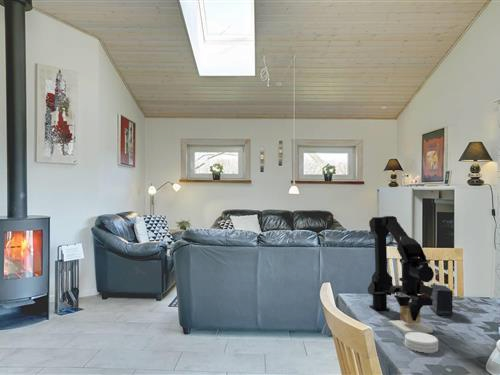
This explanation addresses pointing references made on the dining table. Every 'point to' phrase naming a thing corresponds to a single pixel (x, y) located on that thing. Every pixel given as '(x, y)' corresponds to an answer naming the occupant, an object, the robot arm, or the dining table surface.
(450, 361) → the dining table surface
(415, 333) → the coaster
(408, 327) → the white board
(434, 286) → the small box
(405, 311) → the oak cube
